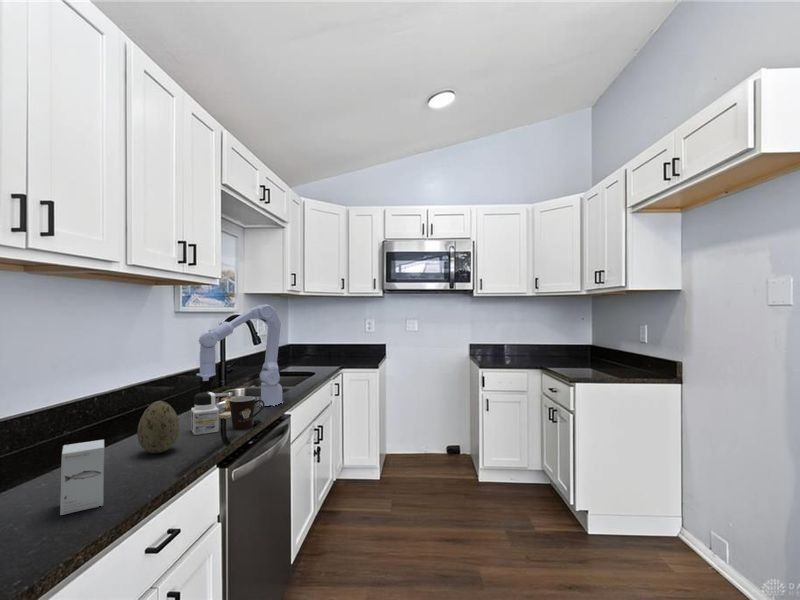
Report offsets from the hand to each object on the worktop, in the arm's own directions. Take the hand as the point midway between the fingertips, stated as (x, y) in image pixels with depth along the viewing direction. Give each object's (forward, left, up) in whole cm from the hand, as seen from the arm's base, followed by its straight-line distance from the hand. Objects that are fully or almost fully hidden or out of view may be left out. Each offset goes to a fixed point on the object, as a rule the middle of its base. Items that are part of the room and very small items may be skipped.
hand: (207, 396), depth 170 cm
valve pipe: (-3, +8, -6) cm, 10 cm away
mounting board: (-3, +7, -7) cm, 10 cm away
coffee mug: (+13, +28, -7) cm, 32 cm away
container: (+21, +17, -7) cm, 28 cm away
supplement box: (+74, +32, -7) cm, 81 cm away
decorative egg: (+43, +20, -7) cm, 48 cm away
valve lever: (0, +4, 0) cm, 4 cm away
